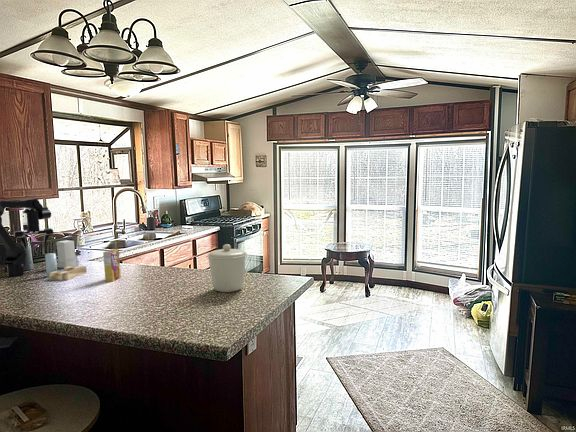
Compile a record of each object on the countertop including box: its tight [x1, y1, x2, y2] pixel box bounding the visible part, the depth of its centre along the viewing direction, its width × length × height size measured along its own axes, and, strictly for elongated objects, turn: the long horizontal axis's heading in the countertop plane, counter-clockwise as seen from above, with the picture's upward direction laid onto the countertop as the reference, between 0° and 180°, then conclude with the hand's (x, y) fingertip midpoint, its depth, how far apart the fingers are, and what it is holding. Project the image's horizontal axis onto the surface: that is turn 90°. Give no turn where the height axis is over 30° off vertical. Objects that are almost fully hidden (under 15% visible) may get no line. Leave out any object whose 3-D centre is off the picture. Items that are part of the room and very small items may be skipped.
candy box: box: [102, 248, 122, 283], centre depth 205 cm, size 9×4×15 cm, turn 177°
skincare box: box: [55, 239, 77, 269], centre depth 236 cm, size 8×7×16 cm
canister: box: [206, 243, 248, 293], centre depth 184 cm, size 18×18×21 cm
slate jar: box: [44, 252, 58, 278], centre depth 215 cm, size 5×5×12 cm
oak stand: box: [49, 265, 88, 281], centre depth 214 cm, size 10×16×4 cm, turn 174°
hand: (35, 247), depth 230 cm, fingers open, 9 cm apart
